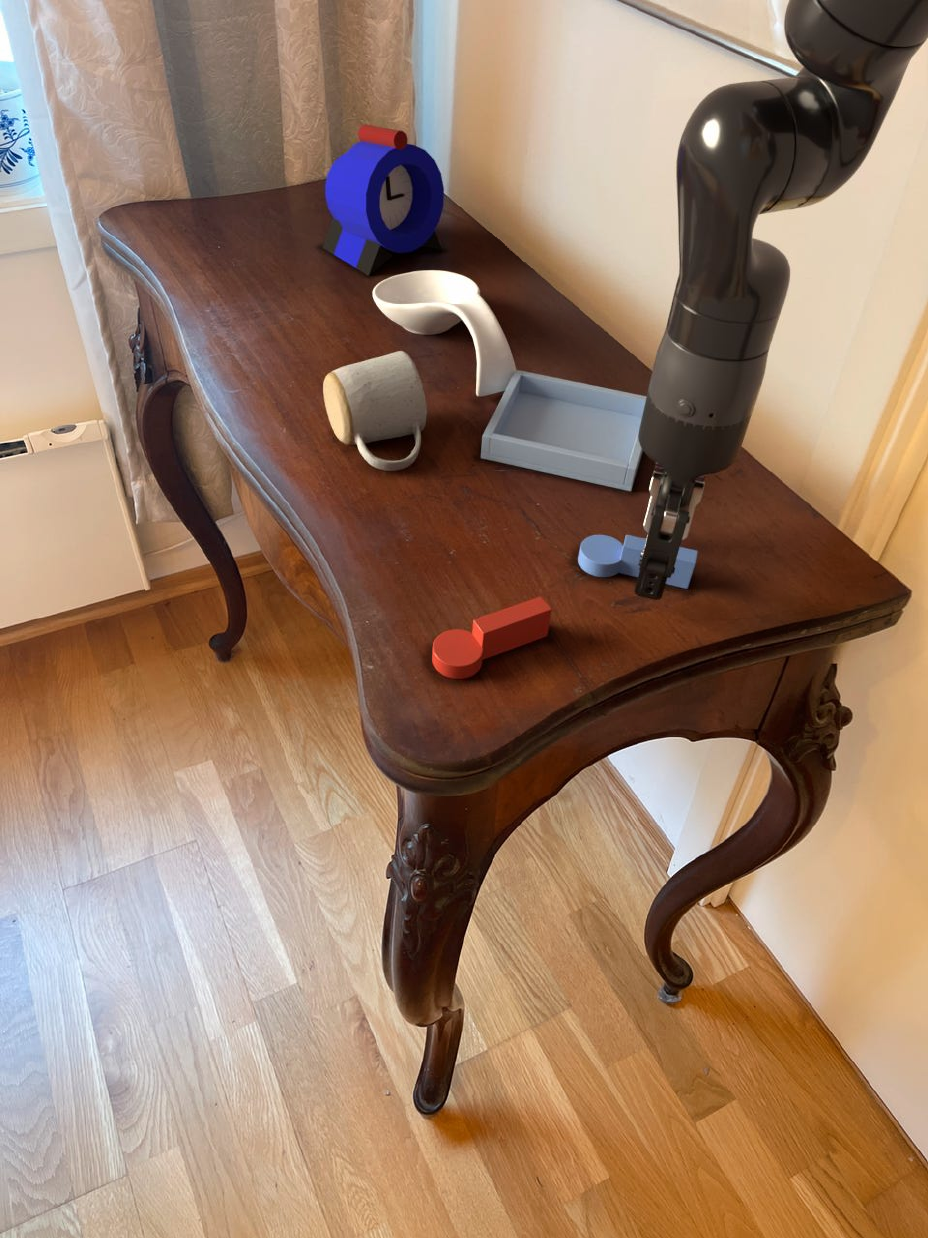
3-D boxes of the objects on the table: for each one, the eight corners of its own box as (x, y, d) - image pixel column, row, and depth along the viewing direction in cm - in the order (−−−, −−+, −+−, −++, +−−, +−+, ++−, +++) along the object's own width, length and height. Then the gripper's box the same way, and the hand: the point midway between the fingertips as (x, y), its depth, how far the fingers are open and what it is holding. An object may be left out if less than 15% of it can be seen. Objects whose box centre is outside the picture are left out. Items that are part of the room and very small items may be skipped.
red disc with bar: (529, 614, 75) (533, 587, 73) (554, 645, 73) (559, 618, 71) (423, 651, 71) (424, 624, 69) (446, 686, 69) (448, 658, 67)
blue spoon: (691, 568, 80) (699, 542, 78) (685, 598, 77) (694, 571, 75) (582, 543, 81) (587, 516, 79) (573, 571, 79) (578, 544, 77)
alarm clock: (371, 277, 114) (369, 147, 103) (312, 241, 120) (305, 115, 109) (447, 252, 120) (452, 126, 109) (387, 219, 126) (387, 97, 116)
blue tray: (651, 420, 96) (656, 398, 94) (631, 491, 87) (636, 469, 85) (513, 391, 98) (515, 369, 96) (480, 458, 89) (482, 435, 87)
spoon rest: (358, 309, 109) (354, 248, 104) (447, 289, 113) (448, 230, 108) (450, 409, 95) (450, 344, 90) (549, 382, 99) (555, 319, 94)
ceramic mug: (320, 421, 92) (316, 351, 86) (397, 404, 95) (398, 335, 89) (360, 484, 86) (359, 413, 80) (441, 464, 88) (445, 394, 83)
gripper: (747, 460, 61) (689, 632, 73) (762, 354, 71) (709, 521, 82) (633, 435, 62) (594, 608, 74) (663, 335, 72) (625, 502, 84)
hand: (655, 562), depth 78 cm, fingers open, 8 cm apart
